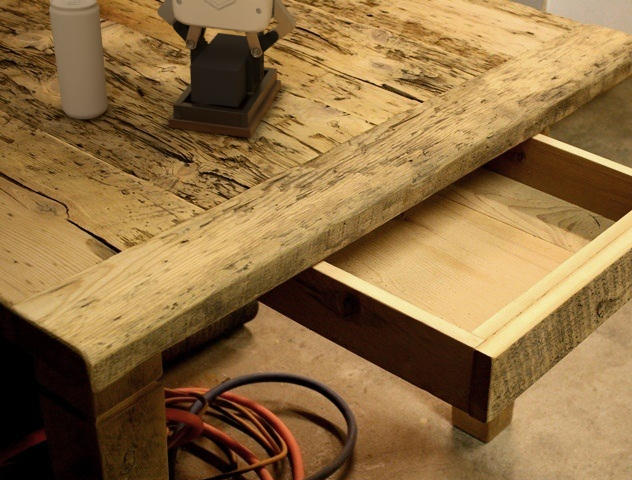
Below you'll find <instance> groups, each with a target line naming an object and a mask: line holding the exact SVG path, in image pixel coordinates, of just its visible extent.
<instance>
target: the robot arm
mask: <svg viewBox="0 0 632 480" xmlns="http://www.w3.org/2000/svg"><path fill="white" fill-rule="evenodd" d="M156 13H157V15H158V16H159V17H160V18H161V19H162V20H164V21H165V22H166V24H168V25H169V26H171V27H172V29H173V30H174V32H175V33H176V34H177V35H178V36H179V37H180V38H181V40H183V42H184V43H185V47H186V48H187V49H189V56H190V65H191V64H192V63H193V61H194V60H195V59H196V58H197V57H198V56H199V54H200V53H202V51H203V50H204V49H205V48H206V47H207V46H208V45H209V41H208V40H206V38H205V36H206V32H207V29H212V30H222V31H230V32H240V33H244V34H245V36H246V38H247V41H248V45H249V48H250V49H249V54H248V56H247V57H246V90H247V91H248V92H253V91H254V90H255V88H256V87H257V85H258V84H259V83H262V81H263V79H264V67H265V52H266V51H268V50H269V49H270V48H271V47H272V46H273V45H275V44H276V43H277V42H278V41H279V40H281V39H283V38H284V37H285V36H288V35H289V34H290V33H292V32H293V31H294V30H295V29H296V27H297V21H296V20H295V18H294V17H293V15H292V14H291V12H290V11H289V10H288V8H287V7H286V5H285V4H284V2H283V1H282V0H163V2H162V3H161V4H160V6H158V8H157V11H156ZM272 19H275V21H276V22H277V25H275V26H273V27H272V28H270V29H269V30H268V31H266V29H267V28H268V27H269V26H270V23H271V20H272Z"/></svg>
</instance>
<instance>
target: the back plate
mask: <svg viewBox="0 0 632 480" xmlns="http://www.w3.org/2000/svg"><path fill="white" fill-rule="evenodd" d="M281 89H282V80H281V79H278V68H276V67H267V66H264V79H263V81H262V83H259V84H258V85H257V87H256V88H255V90H254V91H253V92H247V94H246V95H245V97H244V98H243V100H242V101H241V103H240V104H239V106H238V107H231V106H224V105H216V104H208V103H200V102H192V101H191V82H190V83H189V84H188V86H187V87H186V88H185V89H184V90H183V92H182V93H181V94H180V95H179V96H178V98H177V99H176V100H175V101H174V102H173V104H172V114H171V115H170V117H169V118H168V127H169V128H171V129H179V130H187V131H193V132H194V131H195V132H200V133H201V132H203V133H210V134H217V135H226V136H231V137H238V138H247V139H251V138H252V136H253V135H254V133H255V131H256V130H257V128H258V126H259V125H260V123H261V122H262V120H263V119H264V116H265V115H266V113H267V112H268V110H269V109H270V106H271V105H272V104H273V101H275V99H276V97H277V95H278V94H279V92H280V91H281Z"/></svg>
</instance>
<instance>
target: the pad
mask: <svg viewBox="0 0 632 480" xmlns="http://www.w3.org/2000/svg"><path fill="white" fill-rule="evenodd" d="M208 44H209V45H208V46H207V47H206V48H205V49H204V50H203V51H202V53H200V54H199V56H198V57H197V58H196V59H195V60H194V61H193V63H192V64H191V63H190V65H189V78H190V83H191V101H192V102H200V103H208V104H216V105H224V106H231V107H238V106H239V104H240V103H241V101H242V100H243V98H244V97H245V95H246V94H247V92H248V91H247V90H246V57H247V56H248V54H249V49H250V48H249V45H248V41H247V38H246V35H241V34H233V33H223V32H217V34H215V35H214V37H213V38H212V39H211V41H209V42H208Z"/></svg>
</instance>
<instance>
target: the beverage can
mask: <svg viewBox="0 0 632 480" xmlns="http://www.w3.org/2000/svg"><path fill="white" fill-rule="evenodd" d="M49 4H50V5H49V7H48V11H49V18H50V19H49V20H50V27H51V34H52V42H53V49H54V57H55V63H56V64H55V65H56V71H57V79H58V80H57V81H58V88H59V97H60V105H61V109H62V111H63V112H64V114H65V115H66V116H68V117H69V118H71V119H76V120H90V119H95V118H98V117H100V116H102V115H103V114H105V112H106V111H107V109H108V107H109V98H108V90H107V77H106V67H105V55H104V46H103V45H104V44H103V35H102V25H101V14H100V13H101V12H100V6H99V4H98V0H49Z"/></svg>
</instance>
